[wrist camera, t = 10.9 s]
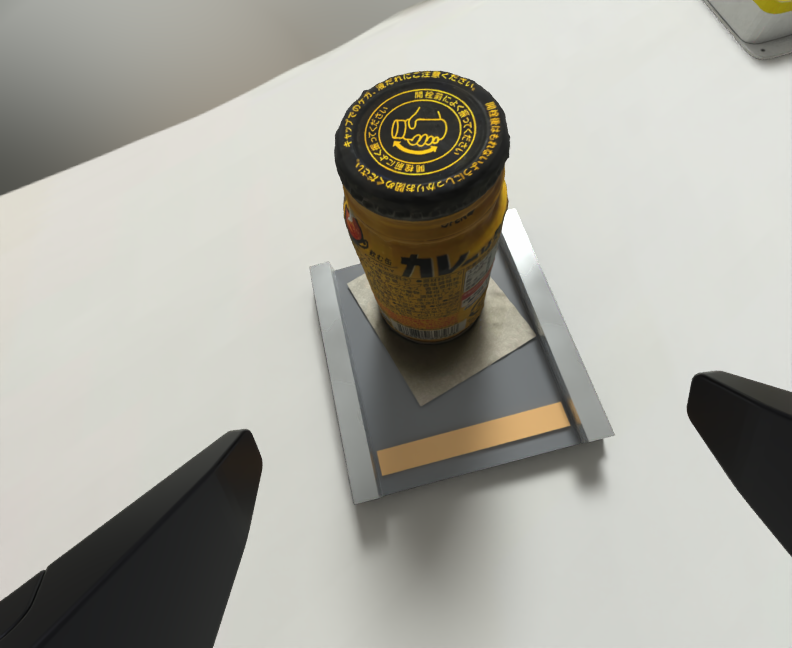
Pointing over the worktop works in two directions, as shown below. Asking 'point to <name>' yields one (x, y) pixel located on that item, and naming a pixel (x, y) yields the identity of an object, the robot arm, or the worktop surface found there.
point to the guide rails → (546, 325)
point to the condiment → (429, 224)
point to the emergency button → (757, 24)
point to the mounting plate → (455, 404)
